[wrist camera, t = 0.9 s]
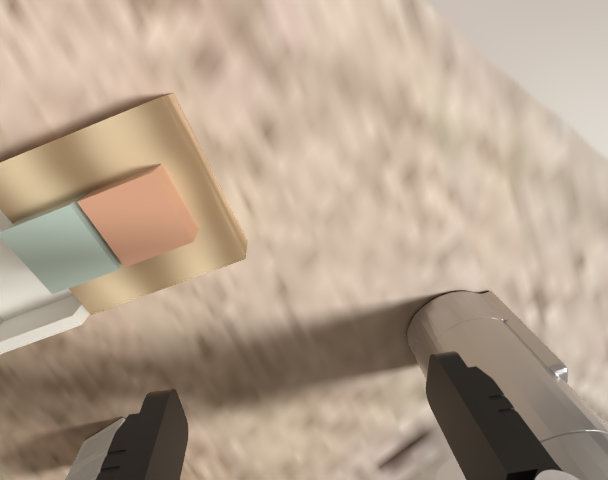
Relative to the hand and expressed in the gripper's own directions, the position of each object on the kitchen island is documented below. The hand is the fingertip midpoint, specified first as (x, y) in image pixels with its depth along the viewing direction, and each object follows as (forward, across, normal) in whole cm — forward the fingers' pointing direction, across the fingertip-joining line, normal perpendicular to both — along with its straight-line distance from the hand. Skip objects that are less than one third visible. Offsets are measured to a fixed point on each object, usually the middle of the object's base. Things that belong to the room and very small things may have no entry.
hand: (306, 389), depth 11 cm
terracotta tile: (+15, +9, -1) cm, 18 cm away
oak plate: (+18, +11, -1) cm, 21 cm away
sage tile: (+15, +14, 0) cm, 21 cm away
